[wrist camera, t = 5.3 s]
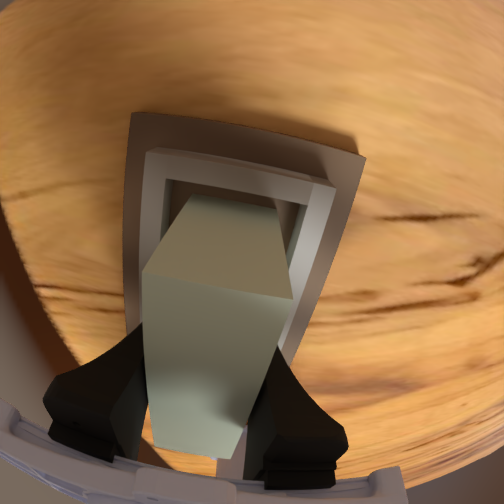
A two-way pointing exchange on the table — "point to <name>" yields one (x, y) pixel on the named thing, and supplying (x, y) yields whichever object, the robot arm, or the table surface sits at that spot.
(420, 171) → the table surface
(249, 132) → the plate
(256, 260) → the pale green block
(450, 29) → the table surface
